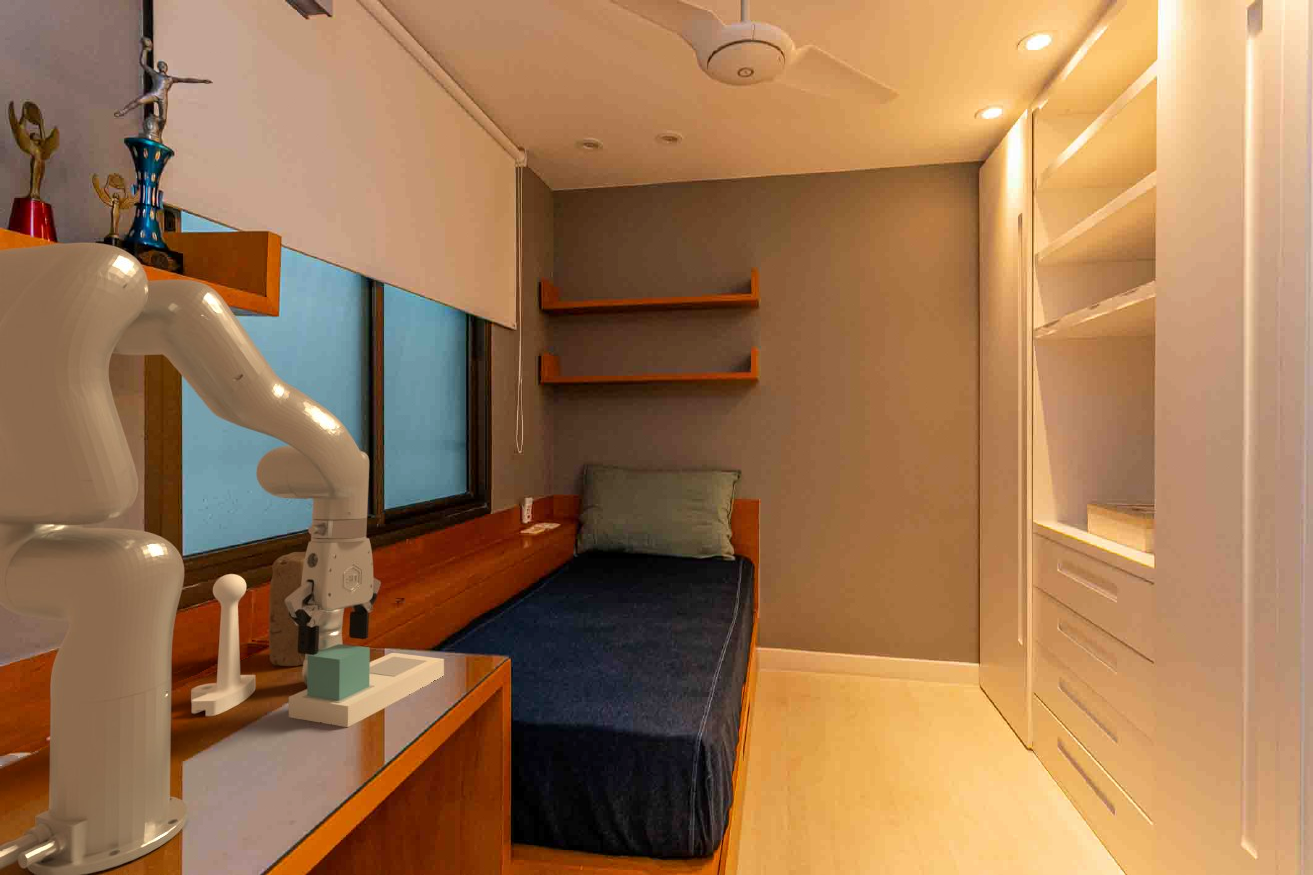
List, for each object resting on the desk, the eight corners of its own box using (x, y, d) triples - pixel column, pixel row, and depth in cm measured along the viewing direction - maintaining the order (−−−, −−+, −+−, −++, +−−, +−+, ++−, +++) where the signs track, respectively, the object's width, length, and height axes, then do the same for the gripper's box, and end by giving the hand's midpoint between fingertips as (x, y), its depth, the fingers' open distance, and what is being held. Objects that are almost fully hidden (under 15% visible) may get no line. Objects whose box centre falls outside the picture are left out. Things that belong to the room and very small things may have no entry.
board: (347, 727, 93) (348, 705, 93) (288, 717, 97) (288, 696, 97) (443, 676, 114) (443, 658, 114) (392, 669, 118) (392, 651, 118)
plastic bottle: (354, 682, 111) (355, 564, 111) (315, 695, 105) (316, 571, 106) (332, 675, 115) (333, 561, 115) (293, 687, 109) (294, 567, 109)
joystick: (221, 715, 97) (223, 581, 98) (168, 716, 97) (170, 581, 97) (262, 688, 109) (263, 567, 109) (215, 689, 108) (216, 568, 108)
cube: (339, 700, 95) (339, 659, 95) (307, 695, 97) (307, 655, 97) (369, 686, 101) (369, 647, 101) (338, 682, 103) (338, 643, 103)
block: (306, 668, 118) (307, 557, 118) (263, 669, 118) (264, 558, 118) (332, 649, 129) (333, 548, 129) (293, 650, 129) (294, 548, 129)
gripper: (312, 536, 90) (306, 663, 89) (399, 527, 106) (394, 634, 105) (270, 534, 92) (264, 657, 91) (361, 526, 108) (357, 630, 107)
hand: (334, 645), depth 98 cm, fingers open, 9 cm apart
